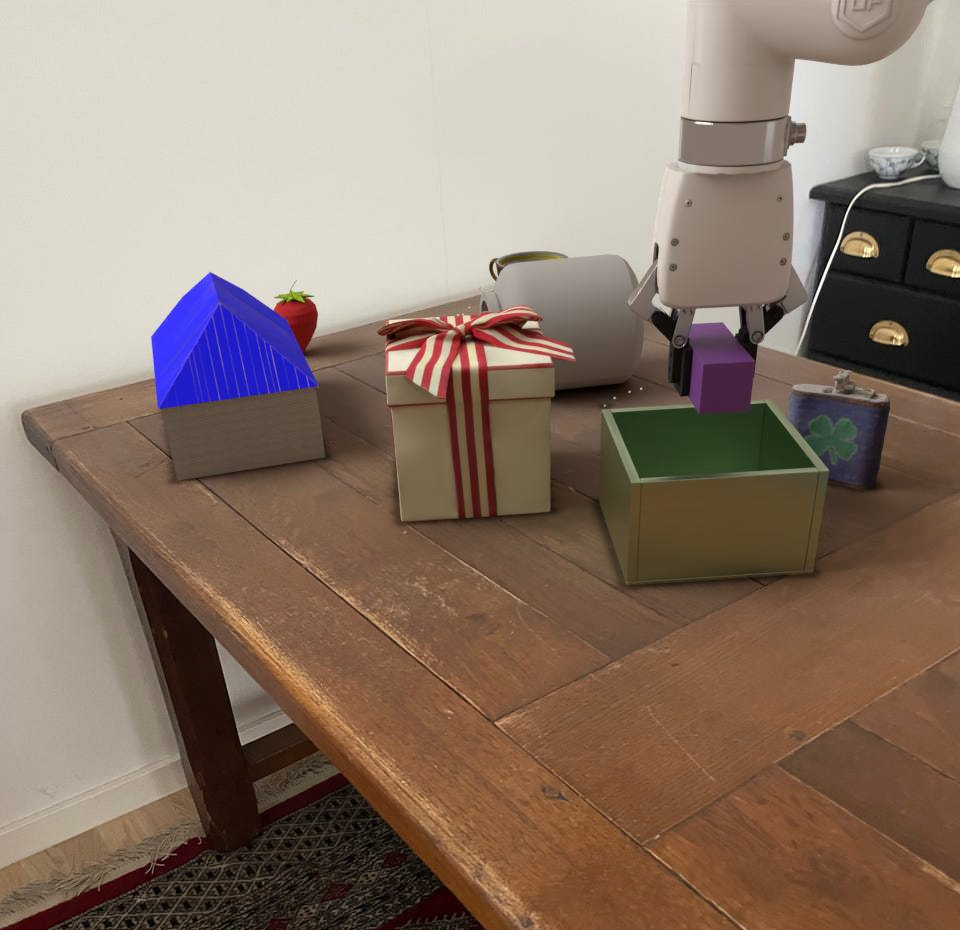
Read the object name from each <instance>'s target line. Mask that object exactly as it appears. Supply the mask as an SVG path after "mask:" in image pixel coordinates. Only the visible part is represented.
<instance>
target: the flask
mask: <svg viewBox="0 0 960 930" xmlns="http://www.w3.org/2000/svg"><path fill="white" fill-rule="evenodd" d="M851 374H853V371H852V370H843V371H841V370H839V371H838V374H837V375H833V377H832V378H833V380H834V384H835V385H834V386H832V385H822V384H814V383H797V384H795V385H793V386H792V387H791V388H790V391H789V403H788V413H787V416H786V417H787V419H788V420H789V421H790V422H791V424H792V425H793V426H794V427H795V428H796V430H797V431H798V432H799V433H800V435H801V436H802V437H803V438H804V440H805V441H806V442H807V443H808V445H809V446H810V447H811V448H812V450H813V451H814V452H815V453H816V455H817V456H818V457H819V458H820V460H821V461H822V462H823V463H824V465H825V466H826V467H827V468H828V470H829V476H828V482H827V483H832V484H837V485H841V486H845V487H849V488H853V489H856V490H864V491H866V490H867V491H868V490H872V489H874V488H875V487H876V484H877V481H878V476H879V472H880V468H881V467H880V466H881V461H882V454H883V450H884V443H885V437H886V432H887V429H888V421H889V414H890V410H891V402H890V401H891V400H890V398H889V397H888V395H886V394H884V393H878V392H877V391H876V390H875V389H872V388H867V390H865V389H864V388H862V387H858V385H857V384H856V383H855V381H851V380H850V376H851Z"/></svg>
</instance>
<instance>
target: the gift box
mask: <svg viewBox="0 0 960 930" xmlns="http://www.w3.org/2000/svg"><path fill="white" fill-rule="evenodd" d="M542 320H543V319H542V318H541V317H540V316H539V315H538V314H537V313H535V312H534V311H533V310H532V309H531V308H530V307H528V306H525V305H519V306H513V307H510V308H507V309H505V310H503V311H500V312H497V313H494V312H488V311H487V312H482V313H480V312H479V314H467V315H465V314H464V316H462V315H460V316H457V315H450V316H449V315H448V316H445V315H444V316H435V317H434V316H431V317H417V318H402V319H401V318H400V319H389V320H386V322H385V325H384V326H382V327H381V328H380V329H378V330H377V332H376V333H377V335H379V336H381V337H384V336H385V343H384V358H385V359H384V360H385V377H384V378H385V390H386V391H385V393H386V403H387V407H389V412H390V420H391V428H392V429H391V431H392V439H393V449H394V451H393V452H394V459H395V466H396V476H397V478H396V479H397V486H398V487H397V488H398V497H399V510H400V511H399V512H400V521H401V522H402V523H415V522H429V521H440V520H441V521H442V520H443V521H444V520H457V519H458V520H463V519H465V520H466V519H472V518H488V517H498V516H512V515H525V514H526V515H527V514H539V513H547V512H551V417H552V416H551V415H552V414H551V412H552V409H551V408H552V407H551V403H552V401H551V400H552V398H555V396H556V393H555V392H556V390H555V372H554V363H553V359H558V360H565V361H571V362H576V359H575V357H574V354H573V351H572V348H571V346H570V345H569V344H566V343H563V342H560V341H557V340H554V339H551V338H547V337H544V336H543V333H542V331H541V329H540V326H539V323H538V322H541V321H542Z"/></svg>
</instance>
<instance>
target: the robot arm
mask: <svg viewBox="0 0 960 930" xmlns="http://www.w3.org/2000/svg"><path fill="white" fill-rule="evenodd" d="M934 1H935V0H687V9H686V10H687V11H686V27H685V41H684V57H683V76H682V89H681V91H682V92H681V101H680V103H681V104H680V118H679V132H678V134H679V136H678V149H677V161H676V162H675V161H674V162H669V163H667V164H666V166H665V169H664V172H663V176H662V179H661V185H660V190H659V195H658V201H657V207H656V212H655V220H654V227H653V234H652V235H653V236H652V243H651V251H650V252H651V253H650V263H649V268H648V269H647V271H646V272H645V274H644V275H643V277H642V278H641V280H640V281H639V282H638V283H639V285H638V286H637V288H636V289H635V291H634V292H633V294H632V295H631V296H630V298H629V300H628V306H629V308H630V309H631V311H632V312H634V313H635V314H637V315H638V316H640V317H641V318H643V319H644V321H646V322H648V323H650V324H651V325H653V326H654V327H655V328H656V329H657V331H658V332H660V333H661V334H662V335H663V336H664V337H665V339H667V340H668V342H669V347H668V348H669V349H668V361H667V380H668V383H669V384H673V387H674V388H675V390H676V392H677V393H678V395H679V397H680V398H681V397H688V395H689V392H690V380H691V367H692V355H693V350H692V348H691V346H690V345H689V340H690V339H689V333H690V330H691V326H692V324H693V322H694V319H695V315H696V311H697V309H699V310H700V309H716V308H717V309H719V308H734V307H735V308H738V315H739V326H740V328H739V329H738V332H736V333H734V334H735V335H734V336H735V338H736V339H737V340H738V341H739V342H740V344H741V345H742V346H743V347H744V349H745V350H746V351H747V352H748V353H749V355H750V356H751V357H752V358H753V359H754V361H755V367H756V365H757V355H758V348H759V344H761V343H762V342H763V341H764V340H765V336H766V334H768V333H769V332H770V331H771V330H772V329H773V328H774V327H775V326H776V325H778V323H779V322H780V321H781V320H783V318H784V317H785V316H786V315H788V314H791V312H793V311H795V310H797V308H800V307H801V306H802V305H803V304H805V303H806V302H808V298H809V294H808V292H807V289H806V288H805V287H804V284H803V283H802V281H801V279H800V277H799V275H798V273H797V271H796V269H795V267H794V265H793V264H792V262H793V248H794V247H793V246H794V223H795V221H794V218H795V215H794V214H795V213H794V211H795V207H794V205H795V204H794V180H793V168H792V163H791V162H789V161H788V160H786V159H785V158H784V157H787V156H788V150H789V148H790V147H793V146H794V145H795V144H804V143H805V141H806V138H807V124H806V122H796V121H795V120H794V121H793V120H792V116H791V115H789V114H790V108H791V107H790V106H791V99H792V91H793V90H792V89H793V80H794V73H795V66H796V65H795V64H796V60H801V61H809V62H816V63H824V64H830V65H837V66H846V67H847V66H849V67H855V66H857V67H858V66H859V67H860V66H865V65H866V66H867V65H870V64H873V63H877V62H880V61H882V60H884V59H886V58H888V57H889V56H892V55H893V54H895V52H897V51H898V50H900V49H901V48H902V47H903V46H904V45H905V44H906V43H907V42H908V41H909V40H910V38H912V36H913V35H914V33H915V32H916V30H917V29H918V27H919V26H920V24H921V22H922V20H923V18H924V16H925V13H926V10H927V7H928V6H929V5H931V3H932V2H934ZM656 294H658V299H659V301H660V303H661V304H662V305H663V306H665V307H667V308H670V310H669V314H668V313H667V312H666V311H665V310H664V309H663V308H661V307H660V306H658V305H656V304H655V303H653V299H654V297H655V296H656ZM755 373H756V368H755V369H754V375H755ZM754 378H755V376H754V377H753V379H754Z"/></svg>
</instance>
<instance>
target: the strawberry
mask: <svg viewBox="0 0 960 930" xmlns="http://www.w3.org/2000/svg"><path fill="white" fill-rule="evenodd" d="M297 281H298V280H297V279H295V281H294V283H292V286H291V288H290V289H289V291H288V293H281V294H278V295H276V296H274V297H273V299H281V300H280V301H278V302H276V305H275V306H274V307H273V310H274V311H275V312H276V313H278V314H279V315H281V316H282V317H284V318H285V319H286V320H287V322H288V324H289V326H290V328H291V330H292V332H293V334H294V336H295V338H296V340H297V342H298V344H299V347H300V349H301V351H302V353H303V355H304V354H305V352H306V350H307V348H308V346H309V344H310V343H311V342H312V339H313V337H314V334H315V332H316V330H317V327H318V318H319V311H318V309H317V305H316V304H315V303H314V301H313V300H312V299H311V298H315V295H313V294H308V293H305V291H303V290H302V291H294V290H292V289H293V287H294V285H295V284H296V283H297Z"/></svg>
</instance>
